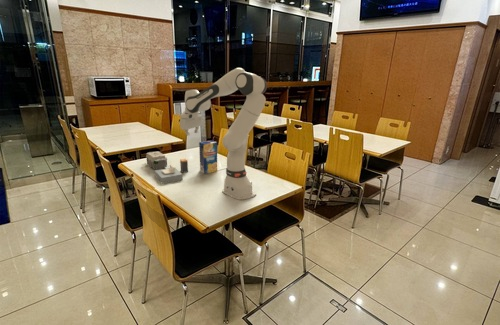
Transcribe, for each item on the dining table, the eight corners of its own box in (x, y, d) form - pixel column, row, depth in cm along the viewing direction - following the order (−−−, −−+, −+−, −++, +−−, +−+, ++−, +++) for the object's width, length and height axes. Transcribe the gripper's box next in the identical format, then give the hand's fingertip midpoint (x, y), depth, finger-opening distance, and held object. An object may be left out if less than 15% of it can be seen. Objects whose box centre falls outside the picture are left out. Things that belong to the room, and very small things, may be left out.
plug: (187, 171, 205) (187, 160, 202) (182, 172, 203) (182, 160, 200) (185, 170, 208) (185, 158, 206) (180, 170, 206) (180, 159, 204)
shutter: (175, 172, 191) (174, 167, 189) (164, 174, 187) (164, 169, 186) (171, 169, 196) (171, 164, 195) (161, 171, 192) (161, 166, 191)
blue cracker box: (217, 170, 209) (217, 142, 202) (204, 173, 202) (203, 144, 195) (212, 168, 214) (212, 140, 207) (199, 170, 208) (199, 142, 201)
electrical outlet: (154, 172, 200) (153, 159, 197) (144, 163, 223) (143, 151, 220) (170, 169, 206) (169, 156, 204) (159, 161, 229) (158, 149, 226)
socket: (182, 179, 190) (182, 174, 189) (162, 183, 183) (161, 177, 182) (174, 172, 203) (174, 167, 202) (155, 175, 195) (154, 170, 194)
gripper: (196, 111, 197) (197, 130, 201) (178, 115, 179) (178, 136, 184) (204, 112, 194) (204, 132, 199) (186, 116, 177) (186, 137, 181)
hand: (191, 134), depth 191 cm, fingers open, 8 cm apart
